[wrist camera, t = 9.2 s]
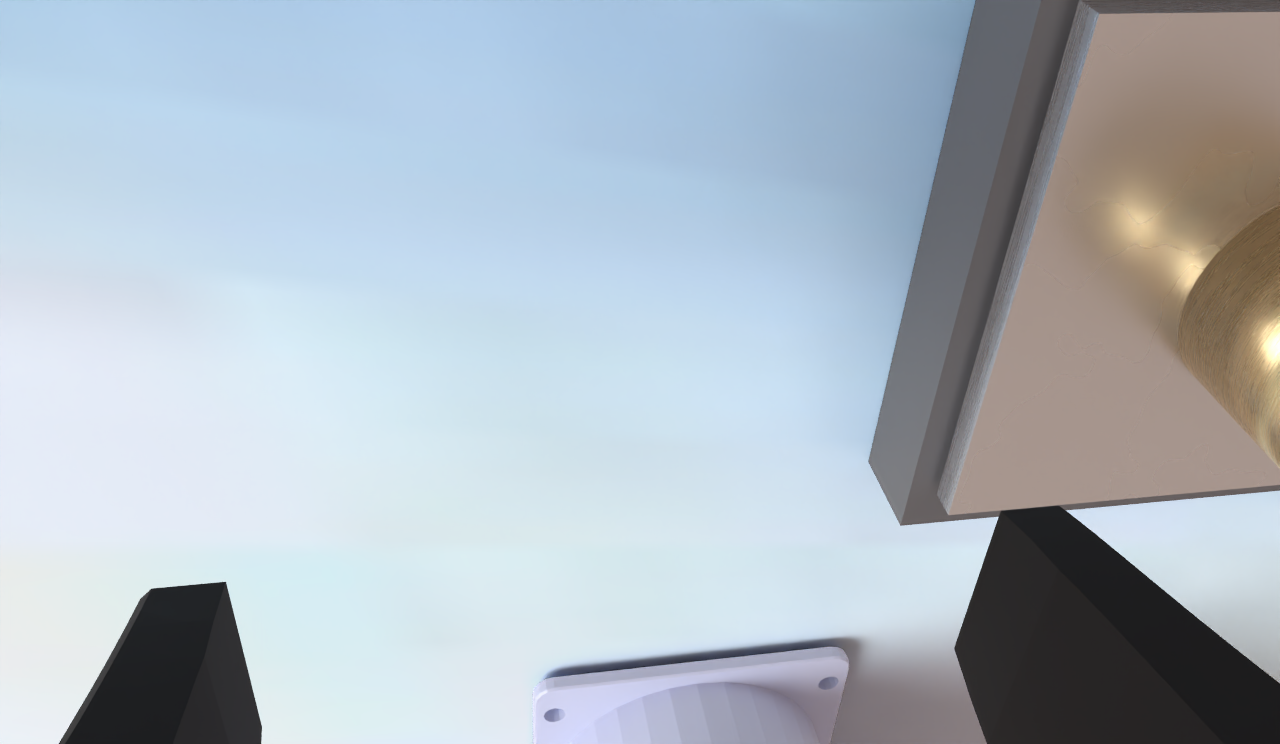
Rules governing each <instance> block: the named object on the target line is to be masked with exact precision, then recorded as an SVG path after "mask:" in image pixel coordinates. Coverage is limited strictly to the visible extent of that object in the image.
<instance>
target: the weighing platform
mask: <svg viewBox="0 0 1280 744" xmlns="http://www.w3.org/2000/svg"><path fill="white" fill-rule="evenodd" d="M1278 206H1280V0H1079V3H1078V6H1077V10H1076V13H1075V16H1074V20H1073V23H1072V27H1071V30H1070V34H1069V37H1068V41H1067V44H1066V48H1065V51H1064V55H1063V58H1062V62H1061V65H1060V69H1059V72H1058V75H1057V79H1056V82H1055V86H1054V89H1053V93H1052V96H1051V100H1050V103H1049V107H1048V110H1047V114H1046V117H1045V121H1044V124H1043V128H1042V131H1041V134H1040V138H1039V141H1038V145H1037V148H1036V152H1035V155H1034V159H1033V162H1032V166H1031V169H1030V173H1029V176H1028V180H1027V183H1026V186H1025V190H1024V193H1023V197H1022V200H1021V204H1020V207H1019V211H1018V214H1017V218H1016V221H1015V225H1014V228H1013V232H1012V235H1011V239H1010V242H1009V245H1008V249H1007V252H1006V256H1005V259H1004V263H1003V266H1002V270H1001V273H1000V277H999V280H998V284H997V287H996V291H995V294H994V298H993V301H992V304H991V308H990V311H989V315H988V318H987V322H986V325H985V329H984V332H983V336H982V339H981V343H980V346H979V350H978V353H977V357H976V360H975V363H974V367H973V370H972V374H971V377H970V381H969V384H968V388H967V391H966V395H965V398H964V402H963V405H962V409H961V412H960V416H959V419H958V422H957V426H956V429H955V433H954V436H953V440H952V443H951V447H950V450H949V454H948V457H947V461H946V464H945V468H944V471H943V475H942V478H941V481H940V485H939V488H938V492H937V496H938V497H939V499H940V501H941V503H942V505H943V506H944V508H945V510H946V512H947V514H948V515H956V514H967V513H978V512H989V511H1000V510H1011V509H1022V508H1032V507H1043V506H1054V505H1065V504H1076V503H1087V502H1098V501H1109V500H1120V499H1131V498H1142V497H1152V496H1163V495H1174V494H1185V493H1196V492H1207V491H1218V490H1229V489H1240V488H1251V487H1261V486H1272V485H1280V469H1279V468H1278V466H1277V465H1276V464H1275V463H1274V462H1273V461H1272V460H1271V459H1270V458H1269V457H1268V456H1267V455H1266V454H1265V452H1264V451H1263V450H1262V449H1261V448H1260V447H1259V446H1258V445H1257V444H1256V443H1255V442H1254V441H1253V440H1252V438H1251V437H1250V436H1249V435H1248V434H1247V433H1246V432H1245V431H1244V430H1243V429H1242V428H1241V427H1240V426H1239V424H1238V423H1237V422H1236V421H1235V420H1234V419H1233V418H1232V417H1231V416H1230V415H1229V414H1228V413H1227V412H1226V410H1225V409H1224V408H1223V407H1222V406H1221V405H1220V404H1219V403H1218V402H1217V401H1216V400H1215V399H1214V398H1213V396H1212V395H1211V394H1210V393H1209V392H1208V391H1207V390H1206V389H1205V388H1204V387H1203V386H1202V385H1201V384H1200V382H1199V381H1198V380H1197V379H1196V378H1195V377H1194V376H1193V375H1192V374H1191V373H1190V371H1189V370H1188V369H1187V367H1186V366H1185V364H1184V362H1183V360H1182V358H1181V355H1180V351H1179V347H1178V328H1179V321H1180V317H1181V313H1182V310H1183V307H1184V304H1185V302H1186V299H1187V297H1188V295H1189V293H1190V291H1191V289H1192V287H1193V286H1194V284H1195V282H1196V280H1197V279H1198V277H1199V276H1200V274H1201V273H1202V271H1203V270H1204V268H1205V267H1206V266H1207V265H1208V264H1209V262H1210V261H1211V260H1212V259H1213V257H1214V256H1215V255H1216V254H1217V253H1218V252H1219V251H1220V250H1221V249H1222V248H1223V247H1224V246H1225V245H1226V244H1227V243H1228V242H1229V241H1230V240H1231V239H1232V238H1233V237H1234V236H1236V235H1237V234H1238V233H1239V232H1240V231H1241V230H1242V229H1244V228H1245V227H1247V226H1248V225H1249V224H1251V223H1252V222H1253V221H1255V220H1256V219H1257V218H1259V217H1261V216H1262V215H1264V214H1265V213H1267V212H1269V211H1270V210H1272V209H1274V208H1276V207H1278Z"/></svg>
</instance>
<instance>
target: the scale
mask: <svg viewBox="0 0 1280 744" xmlns="http://www.w3.org/2000/svg"><path fill="white" fill-rule="evenodd" d="M1078 3H1079V0H976V1H975V6H974V10H973V14H972V19H971V23H970V27H969V32H968V36H967V40H966V44H965V49H964V53H963V57H962V62H961V66H960V70H959V75H958V79H957V83H956V87H955V92H954V96H953V100H952V105H951V109H950V113H949V118H948V122H947V126H946V130H945V135H944V139H943V143H942V148H941V152H940V156H939V161H938V165H937V169H936V173H935V178H934V182H933V186H932V191H931V195H930V199H929V204H928V208H927V212H926V216H925V221H924V225H923V229H922V234H921V238H920V242H919V246H918V251H917V255H916V259H915V264H914V268H913V272H912V277H911V281H910V285H909V289H908V294H907V298H906V302H905V307H904V311H903V315H902V320H901V324H900V328H899V332H898V337H897V341H896V345H895V350H894V354H893V358H892V363H891V367H890V371H889V375H888V380H887V384H886V388H885V393H884V397H883V401H882V406H881V410H880V414H879V418H878V423H877V427H876V431H875V436H874V440H873V444H872V449H871V453H870V457H869V461H868V462H869V464H870V466H871V468H872V470H873V472H874V474H875V476H876V478H877V480H878V482H879V484H880V486H881V488H882V490H883V492H884V494H885V496H886V498H887V500H888V502H889V504H890V506H891V508H892V509H893V511H894V513H895V515H896V517H897V519H898V521H899V523H900V525H912V524H923V523H934V522H944V521H955V520H966V519H977V518H987V517H998V516H999V515H1000V512H1001V511H1004V510H1000V511H989V512H978V513H967V514H956V515H948V514H947V512H946V510H945V508H944V506H943V505H942V503H941V501H940V499H939V497H938V496H937V492H938V488H939V485H940V481H941V478H942V475H943V471H944V468H945V464H946V461H947V457H948V454H949V450H950V447H951V443H952V440H953V436H954V433H955V429H956V426H957V422H958V419H959V416H960V412H961V409H962V405H963V402H964V398H965V395H966V391H967V388H968V384H969V381H970V377H971V374H972V370H973V367H974V363H975V360H976V357H977V353H978V350H979V346H980V343H981V339H982V336H983V332H984V329H985V325H986V322H987V318H988V315H989V311H990V308H991V304H992V301H993V298H994V294H995V291H996V287H997V284H998V280H999V277H1000V273H1001V270H1002V266H1003V263H1004V259H1005V256H1006V252H1007V249H1008V245H1009V242H1010V239H1011V235H1012V232H1013V228H1014V225H1015V221H1016V218H1017V214H1018V211H1019V207H1020V204H1021V200H1022V197H1023V193H1024V190H1025V186H1026V183H1027V180H1028V176H1029V173H1030V169H1031V166H1032V162H1033V159H1034V155H1035V152H1036V148H1037V145H1038V141H1039V138H1040V134H1041V131H1042V128H1043V124H1044V121H1045V117H1046V114H1047V110H1048V107H1049V103H1050V100H1051V96H1052V93H1053V89H1054V86H1055V82H1056V79H1057V75H1058V72H1059V69H1060V65H1061V62H1062V58H1063V55H1064V51H1065V48H1066V44H1067V41H1068V37H1069V34H1070V30H1071V27H1072V23H1073V20H1074V16H1075V13H1076V10H1077V6H1078ZM1279 490H1280V485H1272V486H1261V487H1251V488H1240V489H1229V490H1218V491H1207V492H1196V493H1185V494H1174V495H1163V496H1152V497H1142V498H1131V499H1120V500H1109V501H1098V502H1087V503H1076V504H1065V505H1059V506H1060V507H1062V508H1063V509H1064V510H1074V509H1085V508H1095V507H1106V506H1117V505H1128V504H1139V503H1149V502H1160V501H1171V500H1182V499H1193V498H1203V497H1214V496H1225V495H1236V494H1247V493H1257V492H1268V491H1279ZM1054 506H1058V505H1054ZM1043 507H1047V506H1043ZM1032 508H1036V507H1032ZM1022 509H1026V508H1022ZM1011 510H1015V509H1011Z"/></svg>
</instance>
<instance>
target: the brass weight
mask: <svg viewBox="0 0 1280 744" xmlns="http://www.w3.org/2000/svg"><path fill="white" fill-rule="evenodd" d="M1178 347H1179V351H1180V355H1181V358H1182V360H1183V362H1184V364H1185V366H1186V367H1187V369H1188V370H1189V371H1190V373H1191V374H1192V375H1193V376H1194V377H1195V378H1196V379H1197V380H1198V381H1199V382H1200V384H1201V385H1202V386H1203V387H1204V388H1205V389H1206V390H1207V391H1208V392H1209V393H1210V394H1211V395H1212V396H1213V398H1214V399H1215V400H1216V401H1217V402H1218V403H1219V404H1220V405H1221V406H1222V407H1223V408H1224V409H1225V410H1226V412H1227V413H1228V414H1229V415H1230V416H1231V417H1232V418H1233V419H1234V420H1235V421H1236V422H1237V423H1238V424H1239V426H1240V427H1241V428H1242V429H1243V430H1244V431H1245V432H1246V433H1247V434H1248V435H1249V436H1250V437H1251V438H1252V440H1253V441H1254V442H1255V443H1256V444H1257V445H1258V446H1259V447H1260V448H1261V449H1262V450H1263V451H1264V452H1265V454H1266V455H1267V456H1268V457H1269V458H1270V459H1271V460H1272V461H1273V462H1274V463H1275V464H1276V465H1277V466H1278V468H1279V469H1280V206H1278V207H1276V208H1274V209H1272V210H1270V211H1269V212H1267V213H1265V214H1264V215H1262V216H1261V217H1259V218H1257V219H1256V220H1255V221H1253V222H1252V223H1251V224H1249V225H1248V226H1247V227H1245V228H1244V229H1242V230H1241V231H1240V232H1239V233H1238V234H1237V235H1236V236H1234V237H1233V238H1232V239H1231V240H1230V241H1229V242H1228V243H1227V244H1226V245H1225V246H1224V247H1223V248H1222V249H1221V250H1220V251H1219V252H1218V253H1217V254H1216V255H1215V256H1214V257H1213V259H1212V260H1211V261H1210V262H1209V264H1208V265H1207V266H1206V267H1205V268H1204V270H1203V271H1202V273H1201V274H1200V276H1199V277H1198V279H1197V280H1196V282H1195V284H1194V286H1193V287H1192V289H1191V291H1190V293H1189V295H1188V297H1187V299H1186V302H1185V304H1184V307H1183V310H1182V313H1181V317H1180V321H1179V328H1178Z"/></svg>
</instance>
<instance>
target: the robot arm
mask: <svg viewBox="0 0 1280 744" xmlns="http://www.w3.org/2000/svg"><path fill="white" fill-rule="evenodd" d="M954 649H955V652H956V655H957V658H958V661H959V664H960V667H961V670H962V673H963V676H964V679H965V682H966V685H967V688H968V692H969V695H970V698H971V701H972V703H973V706H974V709H975V712H976V714H977V717H978V720H979V723H980V725H981V728H982V731H983V734H984V736H985V739H986V742H987V744H1280V683H1278V682H1277V681H1276V680H1275V679H1273V678H1272V677H1271V676H1269V675H1268V674H1267V673H1266V672H1264V671H1263V670H1262V669H1260V668H1259V667H1258V666H1257V665H1255V664H1254V663H1253V662H1252V661H1250V660H1249V659H1248V658H1247V657H1245V656H1244V655H1243V654H1241V653H1240V652H1239V651H1238V650H1236V649H1235V648H1234V647H1233V646H1231V645H1230V644H1229V643H1228V642H1226V641H1225V640H1224V639H1223V638H1221V637H1220V636H1219V635H1218V634H1216V633H1215V632H1214V631H1213V630H1212V629H1210V628H1209V627H1208V626H1207V625H1205V624H1204V623H1203V622H1202V621H1200V620H1199V619H1198V618H1197V617H1195V616H1194V615H1193V614H1192V613H1191V612H1189V611H1188V610H1187V609H1186V608H1184V607H1183V606H1182V605H1181V604H1180V603H1178V602H1177V601H1176V600H1175V599H1174V598H1172V597H1171V596H1170V595H1169V594H1167V593H1166V592H1165V591H1164V590H1163V589H1161V588H1160V587H1159V586H1158V585H1157V584H1155V583H1154V582H1153V581H1152V580H1150V579H1149V578H1148V577H1147V576H1146V575H1144V574H1143V573H1142V572H1141V571H1140V570H1138V569H1137V568H1136V567H1135V566H1134V565H1132V564H1131V563H1130V562H1129V561H1127V560H1126V559H1125V558H1124V557H1123V556H1121V555H1120V554H1119V553H1118V552H1117V551H1115V550H1114V549H1113V548H1112V547H1110V546H1109V545H1108V544H1107V543H1106V542H1104V541H1103V540H1102V539H1101V538H1099V537H1098V536H1097V535H1096V534H1095V533H1093V532H1092V531H1091V530H1090V529H1088V528H1087V527H1086V526H1085V525H1083V524H1082V523H1081V522H1080V521H1078V520H1077V519H1076V518H1074V517H1073V516H1072V515H1071V514H1069V513H1068V512H1067V511H1065V510H1064V509H1063V508H1062V507H1060V506H1059V505H1058V506H1047V507H1036V508H1026V509H1015V510H1004V511H1001V512H1000V515H999V518H998V521H997V524H996V527H995V530H994V533H993V536H992V539H991V542H990V544H989V547H988V550H987V553H986V556H985V559H984V562H983V565H982V568H981V571H980V574H979V577H978V580H977V583H976V586H975V589H974V592H973V595H972V598H971V600H970V603H969V606H968V609H967V612H966V615H965V618H964V621H963V624H962V627H961V630H960V633H959V636H958V639H957V642H956V645H955V648H954ZM849 668H850V663H849V660H848V657H847V655H846V653H845V651H844V650H843V649H841V648H838V647H821V648H812V649H803V650H794V651H785V652H776V653H767V654H758V655H749V656H740V657H731V658H722V659H713V660H704V661H695V662H686V663H677V664H668V665H659V666H650V667H641V668H632V669H623V670H614V671H605V672H596V673H587V674H578V675H569V676H560V677H552V678H548V679H545V680H543V681H541V682H539V683H538V684H537V685H536V686H535V687H534V690H533V744H830V742H831V738H832V734H833V730H834V726H835V722H836V718H837V714H838V710H839V707H840V703H841V699H842V695H843V691H844V687H845V683H846V679H847V675H848V672H849ZM261 733H262V726H261V722H260V718H259V714H258V710H257V706H256V702H255V698H254V693H253V689H252V685H251V681H250V677H249V673H248V669H247V665H246V661H245V657H244V653H243V649H242V645H241V641H240V637H239V633H238V629H237V625H236V621H235V617H234V613H233V609H232V605H231V601H230V597H229V593H228V589H227V585H226V582H219V583H208V584H198V585H187V586H176V587H165V588H154V589H151V590H150V591H149V592H148V593H146V594H145V595H144V596H143V597H142V598H141V599H140V601H139V603H138V605H137V606H136V608H135V610H134V612H133V614H132V616H131V618H130V620H129V622H128V624H127V626H126V627H125V629H124V631H123V633H122V635H121V637H120V639H119V640H118V642H117V644H116V646H115V648H114V650H113V651H112V653H111V655H110V657H109V659H108V660H107V662H106V664H105V666H104V668H103V669H102V671H101V673H100V675H99V676H98V678H97V680H96V682H95V683H94V685H93V687H92V689H91V690H90V692H89V694H88V696H87V697H86V699H85V701H84V702H83V704H82V706H81V707H80V709H79V711H78V712H77V714H76V716H75V717H74V719H73V721H72V722H71V724H70V726H69V728H68V729H67V731H66V733H65V734H64V736H63V738H62V739H61V741H60V743H59V744H261Z"/></svg>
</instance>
